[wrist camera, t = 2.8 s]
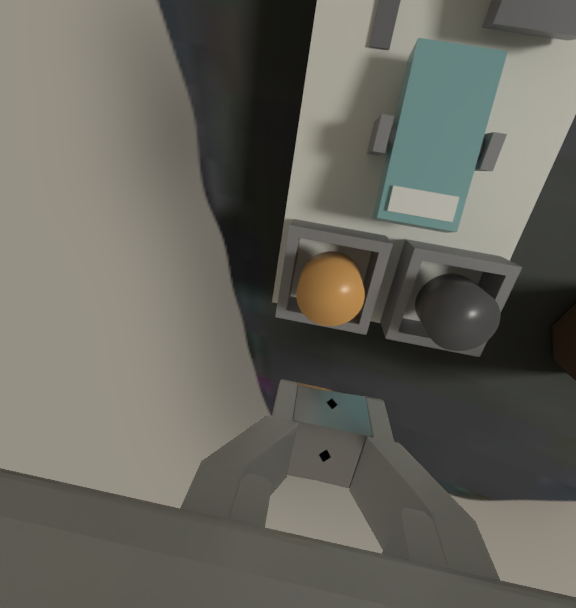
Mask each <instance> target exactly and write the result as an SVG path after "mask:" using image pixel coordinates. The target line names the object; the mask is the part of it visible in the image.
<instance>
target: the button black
mask: <svg viewBox="0 0 576 608" xmlns="http://www.w3.org/2000/svg"><path fill="white" fill-rule="evenodd" d="M415 310H416V314H417V316H418V318H419V320H420V321H421V323H422V325H423V326H424V328H425V330H426V331H427V333H428V335H429V337H430V338H431V339H432V341H433V342H434V343H435V344H437V345H438V346H440V347H442V348H444V349H447V350H451V351H466V350H470V349H474V348H476V347H478V346H480V345H482V344H484V343H485V342H486V341H488V340H489V339H490V338H491V337H492V336H493V334H494V333H495V332H496V330H497V328H498V326H499V323H500V317H501V315H500V309H499V306H498V304H497V302H496V301H495V299H494V298H493V297H491V296H490V295H489V294H488V293H486V292H485V291H484V290H483V289H481V288H480V287H479V286H478V285H476V284H475V283H474V282H473V281H471V280H470V279H469V278H467V277H465V276H463V275H459V274H444V275H440V276H437V277H435V278H433V279H431V280H430V281H428V282H427V283H426V284H425V285H424V286H423V287H422V288H421V289H420V291H419V293H418V294H417V297H416V300H415Z"/></svg>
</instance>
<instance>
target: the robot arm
mask: <svg viewBox="0 0 576 608" xmlns="http://www.w3.org/2000/svg"><path fill="white" fill-rule="evenodd" d="M287 475H291V476H296V477H301V478H307V479H312V480H318V481H321V482H325V483H330V484H334V485H338V486H342V487H346V488H350V489H349V490H350V492H351V494H352V496H353V498H354V499H355V501H356V503H357V505H358V507H359V508H360V510H361V512H362V513H363V515H364V517H365V519H366V521H367V523H368V524H369V526H370V528H371V530H372V531H373V533H374V535H375V537H376V539H377V540H378V542H379V544H380V546H381V547H382V549H383V552H382V554H380V553H375V552H370V551H366V550H361V549H358V548H353V547H349V546H344V545H340V544H335V543H331V542H326V541H322V540H318V539H313V538H308V537H304V536H300V535H295V534H291V533H286V532H282V531H277V530H273V529H269V528H265V522H266V516H267V511H268V505H269V499H270V495H271V494H272V493H273V492H274V491H275V490H276V489H277V487H278V486H279V485H280V484H281V483H282V481H283V480H284V479H285V478H286V477H287ZM0 608H576V597H571V596H567V595H562V594H558V593H553V592H549V591H544V590H540V589H536V588H531V587H527V586H522V585H518V584H513V583H509V582H505V581H500V579H499V576H498V574H497V572H496V569H495V567H494V564H493V562H492V560H491V558H490V555H489V553H488V550H487V548H486V546H485V543H484V541H483V539H482V536H481V534H480V531H479V529H478V526H477V524H476V522H475V521H474V520H473V519H472V518H471V517H470V515H469V514H468V513H467V512H466V511H465V510H464V509H463V508H462V507H461V506H460V505H459V504H458V503H457V502H456V501H455V500H454V499H453V498H452V497H451V496H450V495H449V494H448V493H447V492H446V491H445V490H444V489H443V488H442V487H441V486H440V484H439V483H438V482H437V481H436V480H435V479H434V478H433V477H432V476H431V475H430V474H429V473H428V472H427V471H426V470H425V469H424V468H423V467H422V466H421V465H420V464H419V463H418V462H417V461H416V460H415V459H414V458H413V457H412V456H411V455H410V454H409V453H408V451H407V450H406V449H405V448H404V447H403V446H402V445H401V444H400V443H396V442H394V439H393V435H392V432H391V428H390V424H389V420H388V416H387V412H386V408H385V404H384V401H383V400H382V399H377V398H371V397H366V396H365V397H363V396H358V395H352V394H347V393H342V392H337V391H332V390H329V389H324V388H320V387H315V386H311V385H307V384H302V383H298V384H297V382H293V381H288V380H283V379H281V380H280V383H279V387H278V392H277V396H276V400H275V405H274V409H273V413H272V417H271V416H265V417H264V418H263V419H261V420H260V421H258V422H257V423H255V424H254V425H253V426H251V427H250V428H248V429H247V430H246V431H244V432H243V433H241V434H240V435H238V436H237V437H235V438H234V439H233V440H231V441H230V442H228V443H227V444H225V445H224V446H223V447H221V448H220V449H219V450H217V451H215V452H214V453H213V454H211V455H210V456H208V457H207V458H206V459H204V460H203V461H201V463H200V466H199V468H198V470H197V472H196V475H195V477H194V479H193V481H192V483H191V486H190V488H189V490H188V493H187V495H186V497H185V499H184V502H183V504H182V506H181V508H180V509H179V508H175V507H170V506H166V505H161V504H157V503H153V502H148V501H144V500H139V499H135V498H130V497H126V496H121V495H117V494H113V493H108V492H103V491H99V490H95V489H90V488H86V487H81V486H77V485H72V484H68V483H63V482H59V481H55V480H50V479H45V478H41V477H37V476H32V475H28V474H23V473H19V472H14V471H10V470H5V469H1V468H0Z"/></svg>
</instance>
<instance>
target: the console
mask: <svg viewBox="0 0 576 608" xmlns="http://www.w3.org/2000/svg"><path fill="white" fill-rule="evenodd" d="M491 1H492V0H317V4H316V11H315V17H314V24H313V31H312V37H311V44H310V51H309V58H308V64H307V71H306V78H305V84H304V91H303V98H302V105H301V111H300V118H299V125H298V131H297V138H296V145H295V152H294V158H293V165H292V172H291V178H290V185H289V192H288V199H287V205H286V212H285V219H284V225H283V232H282V239H281V245H280V252H279V259H278V266H277V272H276V279H275V286H274V292H273V299H272V302H274V303H277V309H276V316H275V317H278V318H283V319H288V320H293V321H298V322H303V323H308V324H313V325H319V324H317V323H314V322H313V321H311V320H309V319H308V318H307V317H306V316H305V315H304V314H303V313H302V311H301V310H300V308H299V306H298V303H297V298H296V293H297V287H298V283H299V280H300V276H301V272H302V270H303V267H304V266H305V264H306V263H307V262H308V261H309V260H310V259H311V258H312V257H313V256H315V255H317V254H319V253H323V252H328V251H333V252H339V253H342V254H344V255H346V256H348V257H349V258H351V259H352V260H353V261H354V263H355V264H356V265H357V267H358V269H359V272H360V275H361V279H362V283H363V286H364V291H365V298H364V303H363V306H362V308H361V310H360V311H359V313H358V314H357V315H356V316H355V317H354V318H353V319H352V320H350V321H348V322H346V323H344V324H341V325H338V326H324V327H329V328H334V329H339V330H344V331H349V332H354V333H359V334H364V335H366V334H367V331H368V328H369V324H370V321H372V322H377V323H381V326H382V329H383V332H384V335H385V338H386V339H390V340H395V341H400V342H405V343H410V344H416V345H421V346H426V347H431V348H436V349H441V350H446V351H451V350H447V349H444V348H442V347H440V346H438V345H437V344H435V343H434V342H433V341H432V339H431V338H430V337H429V335H428V333H427V331H426V330H425V328H424V326H423V325H422V323H421V321H420V320H419V318H418V316H417V314H416V310H415V300H416V297H417V294H418V293H419V291H420V289H421V288H422V287H423V286H424V285H425V284H426V283H427V282H428V281H430V280H431V279H433V278H435V277H437V276H440V275H444V274H459V275H463V276H465V277H467V278H469V279H470V280H471V281H473V282H474V283H475V284H476V285H478V286H479V287H480V288H481V289H483V290H484V291H485V292H486V293H488V294H489V295H490V296H491V297H493V298H494V299H495V301H496V302H497V304H498V306H499V309H500V313H501V311H502V309H503V307H504V305H505V303H506V301H507V298H508V296H509V294H510V292H511V290H512V288H513V286H514V284H515V281H516V279H517V277H518V275H519V273H520V271H521V269H522V267H521V266H519V265H517V264H515V263H513V262H511V261H510V258H511V256H512V254H513V252H514V249H515V247H516V245H517V243H518V241H519V238H520V236H521V234H522V232H523V230H524V227H525V225H526V223H527V221H528V218H529V216H530V214H531V212H532V210H533V207H534V205H535V203H536V201H537V199H538V196H539V194H540V192H541V190H542V187H543V185H544V183H545V181H546V179H547V176H548V174H549V172H550V170H551V168H552V165H553V163H554V161H555V159H556V156H557V154H558V152H559V150H560V148H561V145H562V143H563V141H564V139H565V137H566V134H567V132H568V130H569V128H570V125H571V123H572V121H573V119H574V117H575V114H576V39H574V40H568V41H567V40H560V39H553V38H547V37H540V36H533V35H526V34H519V33H513V32H506V31H499V30H492V29H485V28H482V26H483V23H484V20H485V17H486V15H487V12H488V9H489V6H490V4H491ZM418 38H424V39H431V40H437V41H444V42H451V43H457V44H464V45H471V46H477V47H484V48H491V49H497V50H504V51H508V53H507V56H506V60H505V63H504V67H503V70H502V74H501V78H500V81H499V85H498V88H497V92H496V95H495V99H494V102H493V106H492V110H491V113H490V117H489V120H488V124H487V127H486V131H485V134H484V138H483V142H484V145H483V149H482V152H481V154H480V156H479V158H478V159H477V163H476V167H475V170H474V174H473V177H472V181H471V184H470V188H469V191H468V195H467V199H466V202H465V206H464V209H463V213H462V216H461V220H460V223H459V227H458V231H457V232H449V233H444V232H438V231H433V230H427V229H421V228H416V227H410V226H404V225H399V224H393V223H388V222H382V221H376V220H372V217H373V213H374V209H375V204H376V200H377V195H378V191H379V186H380V182H381V177H382V173H383V169H384V164H385V160H386V155H387V151H388V148H386V147H387V143H388V139H389V135H390V131H391V127H392V126H393V124H394V120H395V115H396V111H397V107H398V102H399V98H400V93H401V89H402V84H403V80H404V76H405V71H406V67H407V62H408V58H409V55H410V53H411V51H412V49H413V47H414V45H415V43H416V41H417V39H418ZM319 326H323V325H319ZM486 343H487V341H486V342H485V343H484V344H482V345H480V346H478V347H476V348H474V349H470V350H466V351H451V352H456V353H461V354H467V355H472V356H477V357H480V356H481V353H482V351H483V349H484V347H485V345H486Z"/></svg>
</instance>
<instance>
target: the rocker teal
mask: <svg viewBox="0 0 576 608" xmlns="http://www.w3.org/2000/svg"><path fill="white" fill-rule="evenodd" d="M507 53H508V51H504V50H497V49H491V48H484V47H477V46H471V45H464V44H457V43H451V42H444V41H437V40H431V39H424V38H418V39H417V41H416V43H415V45H414V47H413V49H412V51H411V53H410V55H409V58H408V62H407V67H406V71H405V76H404V80H403V84H402V89H401V93H400V98H399V102H398V107H397V111H396V115H395V120H394V124H393V126H392V127H391V131H390V135H389V139H388V143H387V147H386V148H388V151H387V155H386V160H385V164H384V169H383V173H382V177H381V182H380V186H379V191H378V195H377V200H376V204H375V209H374V213H373V217H372V220H376V221H382V222H388V223H393V224H399V225H404V226H410V227H416V228H421V229H427V230H433V231H438V232H444V233H449V232H457V231H458V227H459V223H460V220H461V216H462V213H463V209H464V206H465V202H466V199H467V195H468V191H469V188H470V184H471V181H472V177H473V174H474V170H475V167H476V163H477V159H478V158H479V156H480V154H481V152H482V149H483V145H484V142H483V138H484V134H485V131H486V127H487V124H488V120H489V117H490V113H491V110H492V106H493V102H494V99H495V95H496V92H497V88H498V85H499V81H500V78H501V74H502V70H503V67H504V63H505V60H506V56H507Z"/></svg>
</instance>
